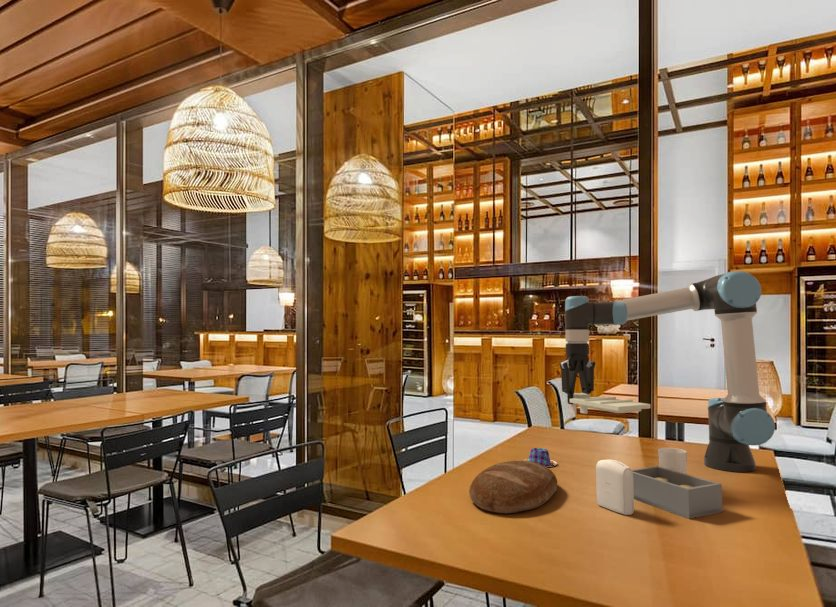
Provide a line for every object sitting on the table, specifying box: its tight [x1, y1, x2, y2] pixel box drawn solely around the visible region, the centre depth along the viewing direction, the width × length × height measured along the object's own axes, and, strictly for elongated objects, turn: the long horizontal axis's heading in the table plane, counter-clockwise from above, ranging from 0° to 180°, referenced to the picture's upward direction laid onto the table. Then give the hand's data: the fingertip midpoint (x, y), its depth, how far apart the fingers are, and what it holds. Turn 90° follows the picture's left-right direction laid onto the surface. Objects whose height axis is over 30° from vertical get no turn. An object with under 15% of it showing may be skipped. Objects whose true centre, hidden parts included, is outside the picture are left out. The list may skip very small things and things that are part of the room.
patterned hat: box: [524, 447, 558, 468], centre depth 186 cm, size 12×12×5 cm
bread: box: [468, 459, 558, 515], centre depth 151 cm, size 22×37×8 cm, turn 153°
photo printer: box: [595, 458, 635, 516], centre depth 138 cm, size 10×4×12 cm, turn 26°
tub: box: [631, 465, 723, 520], centre depth 142 cm, size 12×20×7 cm, turn 24°
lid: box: [570, 392, 651, 414], centre depth 168 cm, size 13×27×3 cm, turn 25°
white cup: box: [657, 447, 688, 475], centre depth 161 cm, size 8×8×10 cm
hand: (578, 413), depth 177 cm, fingers closed on lid, 4 cm apart
